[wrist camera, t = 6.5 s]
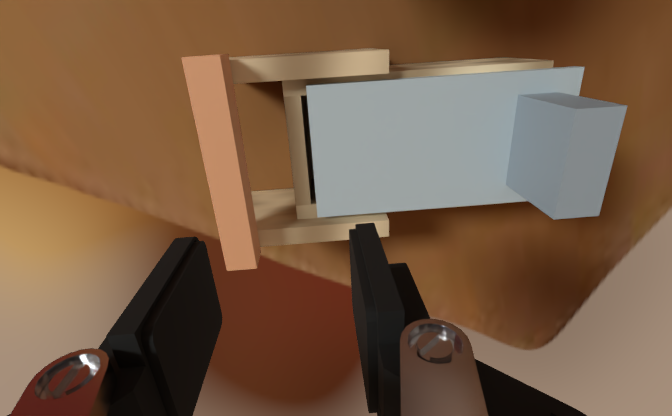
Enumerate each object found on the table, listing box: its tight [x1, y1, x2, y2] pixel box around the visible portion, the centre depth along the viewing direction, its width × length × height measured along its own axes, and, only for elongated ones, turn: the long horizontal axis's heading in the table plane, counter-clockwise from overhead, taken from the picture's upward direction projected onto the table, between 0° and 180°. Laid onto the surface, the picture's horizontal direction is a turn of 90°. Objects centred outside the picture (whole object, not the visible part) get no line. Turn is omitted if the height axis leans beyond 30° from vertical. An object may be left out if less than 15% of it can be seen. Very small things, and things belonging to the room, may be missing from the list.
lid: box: [306, 66, 627, 219], centre depth 21 cm, size 16×8×6 cm, turn 93°
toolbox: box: [229, 48, 554, 247], centre depth 25 cm, size 20×11×7 cm, turn 93°
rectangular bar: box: [181, 54, 261, 271], centre depth 21 cm, size 2×12×2 cm, turn 3°
